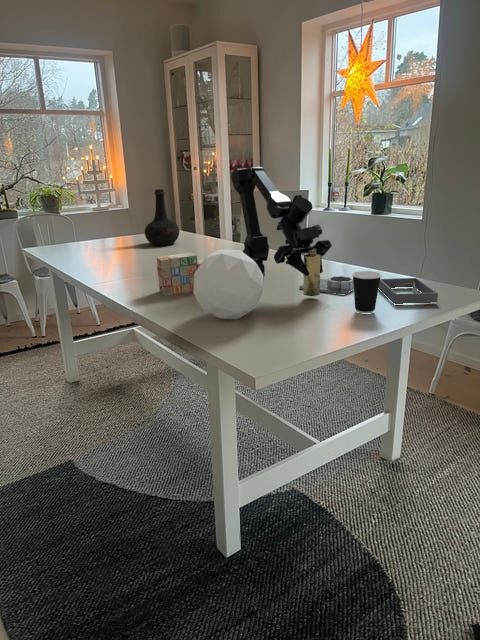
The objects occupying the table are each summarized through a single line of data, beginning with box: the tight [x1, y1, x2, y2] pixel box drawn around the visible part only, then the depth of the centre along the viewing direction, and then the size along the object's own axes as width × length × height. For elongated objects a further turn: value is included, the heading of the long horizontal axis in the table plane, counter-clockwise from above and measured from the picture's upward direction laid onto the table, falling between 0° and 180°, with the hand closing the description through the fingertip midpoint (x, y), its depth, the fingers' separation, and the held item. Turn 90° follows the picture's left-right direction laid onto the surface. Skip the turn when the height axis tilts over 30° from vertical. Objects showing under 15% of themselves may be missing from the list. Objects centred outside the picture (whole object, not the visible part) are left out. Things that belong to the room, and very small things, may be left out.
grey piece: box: [299, 275, 354, 295], centre depth 161 cm, size 16×12×4 cm
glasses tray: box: [379, 277, 439, 304], centre depth 148 cm, size 12×18×4 cm
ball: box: [193, 249, 264, 320], centre depth 133 cm, size 19×20×20 cm
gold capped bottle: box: [302, 250, 322, 297], centre depth 147 cm, size 5×5×14 cm
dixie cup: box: [351, 270, 383, 313], centre depth 134 cm, size 8×8×11 cm
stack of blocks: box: [156, 252, 204, 296], centre depth 164 cm, size 21×6×12 cm, turn 113°
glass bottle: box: [144, 188, 180, 246], centre depth 249 cm, size 18×18×28 cm
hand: (314, 273), depth 146 cm, fingers closed on gold capped bottle, 5 cm apart
